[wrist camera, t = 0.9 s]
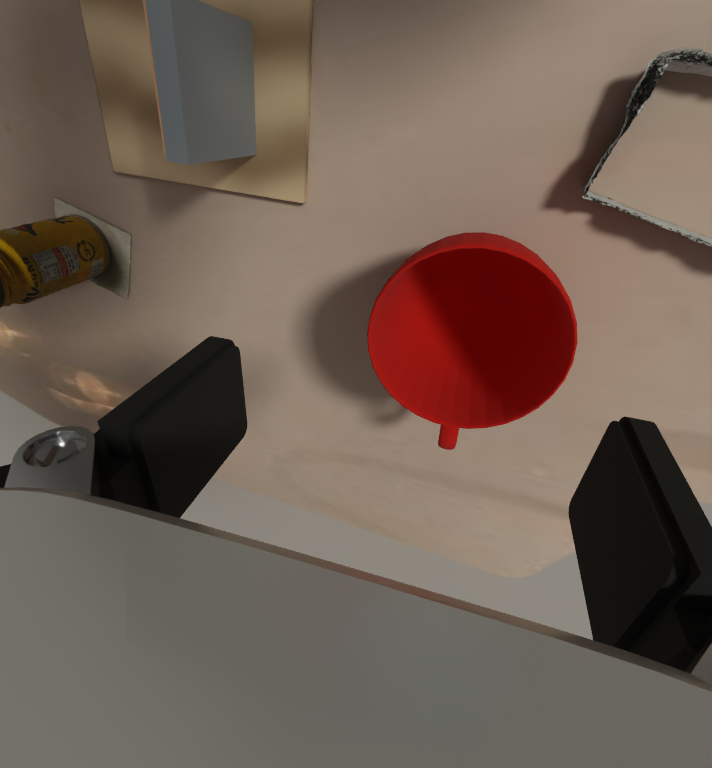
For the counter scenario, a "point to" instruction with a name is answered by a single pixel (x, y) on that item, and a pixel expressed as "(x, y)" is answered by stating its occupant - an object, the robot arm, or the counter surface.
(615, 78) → the counter surface
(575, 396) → the counter surface
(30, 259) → the condiment
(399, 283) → the ceramic cup
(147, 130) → the cork mat
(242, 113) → the slate tile
